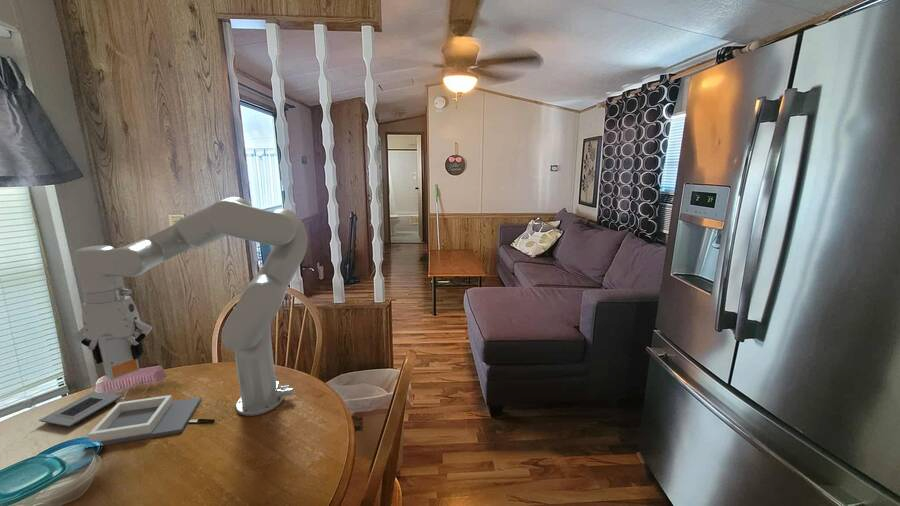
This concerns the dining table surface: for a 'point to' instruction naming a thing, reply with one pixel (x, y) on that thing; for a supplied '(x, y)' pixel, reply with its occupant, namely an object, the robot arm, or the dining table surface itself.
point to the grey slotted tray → (80, 409)
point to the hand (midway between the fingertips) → (120, 358)
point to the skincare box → (117, 357)
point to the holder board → (144, 419)
